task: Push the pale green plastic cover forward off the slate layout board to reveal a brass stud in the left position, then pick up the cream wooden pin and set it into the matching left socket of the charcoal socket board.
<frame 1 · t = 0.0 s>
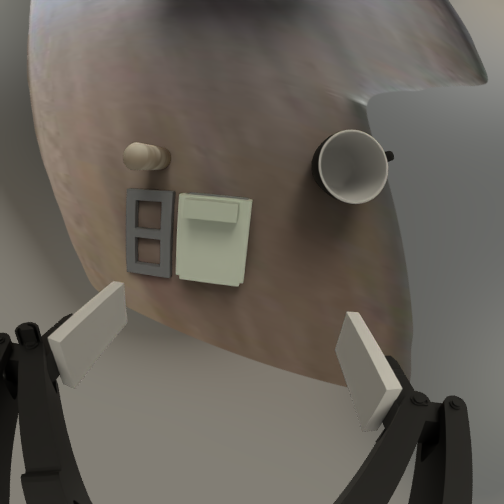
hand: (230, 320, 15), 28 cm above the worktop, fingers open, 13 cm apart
cover: (210, 242, 39), point 4 cm above the worktop, slide at 0.0 cm
mug: (342, 165, 39), on the worktop
socket board: (150, 232, 43), on the worktop
pin: (160, 158, 40), on the worktop
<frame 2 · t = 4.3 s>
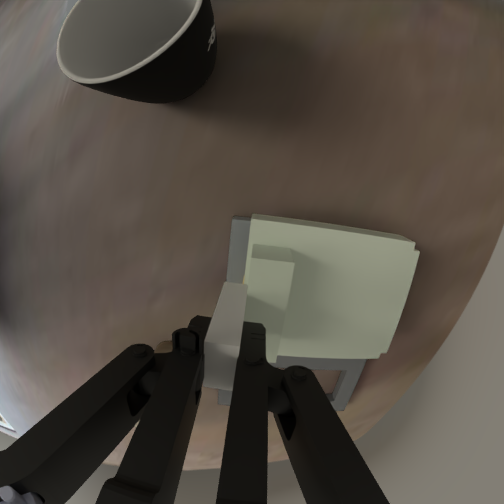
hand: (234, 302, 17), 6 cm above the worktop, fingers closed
cover: (332, 303, 19), point 4 cm above the worktop, slide at 1.4 cm, touching gripper
layout board: (300, 278, 23), on the worktop
mug: (171, 55, 18), on the worktop
socket board: (289, 377, 26), on the worktop
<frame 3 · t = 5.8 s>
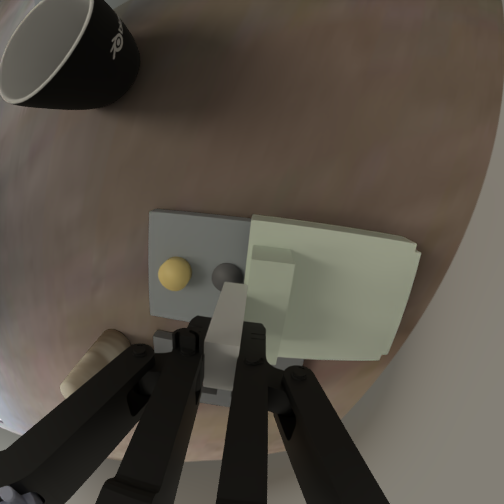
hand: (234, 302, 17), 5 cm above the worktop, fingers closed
cover: (332, 304, 18), point 4 cm above the worktop, slide at 7.9 cm, touching gripper
layout board: (223, 270, 23), on the worktop
mug: (107, 62, 18), on the worktop
socket board: (226, 372, 26), on the worktop
pin: (116, 343, 26), on the worktop
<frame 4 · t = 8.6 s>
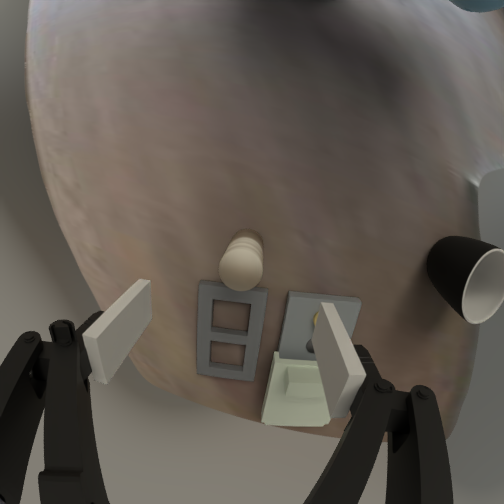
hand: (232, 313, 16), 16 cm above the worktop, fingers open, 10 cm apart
cover: (304, 401, 32), point 4 cm above the worktop, slide at 7.9 cm
layout board: (314, 335, 34), on the worktop
mug: (450, 256, 31), on the worktop
socket board: (229, 333, 35), on the worktop
pin: (247, 244, 31), on the worktop
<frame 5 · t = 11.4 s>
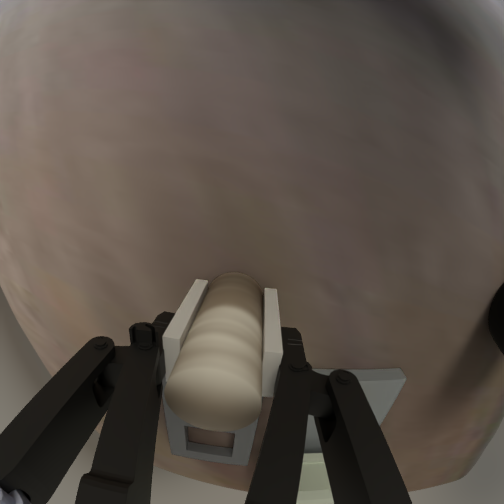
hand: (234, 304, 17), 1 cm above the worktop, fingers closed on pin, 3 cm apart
cover: (314, 490, 19), point 4 cm above the worktop, slide at 7.9 cm
layout board: (333, 417, 21), on the worktop
socket board: (211, 416, 21), on the worktop
pin: (235, 298, 17), on the worktop, touching gripper
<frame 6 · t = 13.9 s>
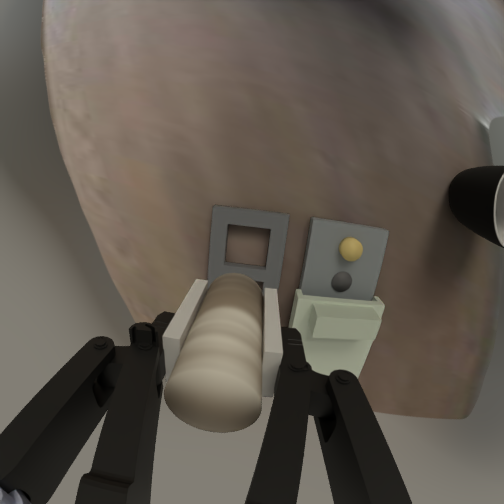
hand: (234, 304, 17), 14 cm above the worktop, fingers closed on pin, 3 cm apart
cover: (331, 351, 29), point 4 cm above the worktop, slide at 7.9 cm
layout board: (339, 272, 31), on the worktop
mug: (470, 193, 28), on the worktop
socket board: (244, 269, 32), on the worktop
pin: (234, 299, 17), point 14 cm above the worktop, touching gripper
when the fingers open (2 cm above the worktop, at t = 16.7 s): pin stays where it is, on the worktop.
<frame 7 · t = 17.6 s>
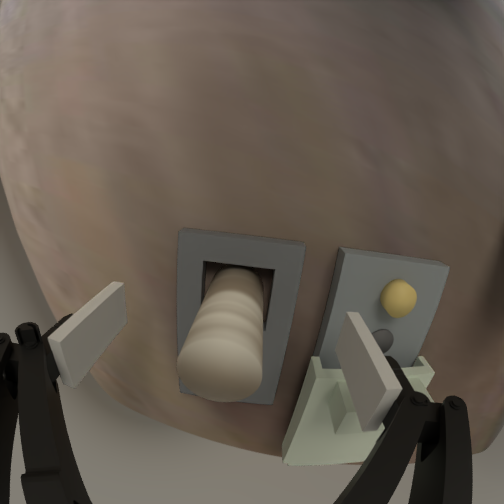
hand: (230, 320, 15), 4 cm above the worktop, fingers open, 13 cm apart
cover: (355, 432, 18), point 4 cm above the worktop, slide at 7.9 cm
layout board: (374, 326, 20), on the worktop
socket board: (233, 326, 20), on the worktop
pin: (237, 287, 19), on the worktop
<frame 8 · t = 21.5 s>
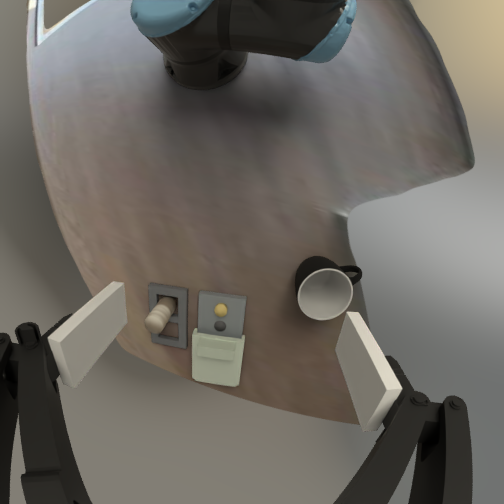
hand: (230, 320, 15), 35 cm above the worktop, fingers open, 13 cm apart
cover: (216, 363, 53), point 4 cm above the worktop, slide at 7.9 cm
layout board: (221, 319, 54), on the worktop
mug: (322, 269, 51), on the worktop
socket board: (169, 315, 55), on the worktop
pin: (169, 302, 54), on the worktop
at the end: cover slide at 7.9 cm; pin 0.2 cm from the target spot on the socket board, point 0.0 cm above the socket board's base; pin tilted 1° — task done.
